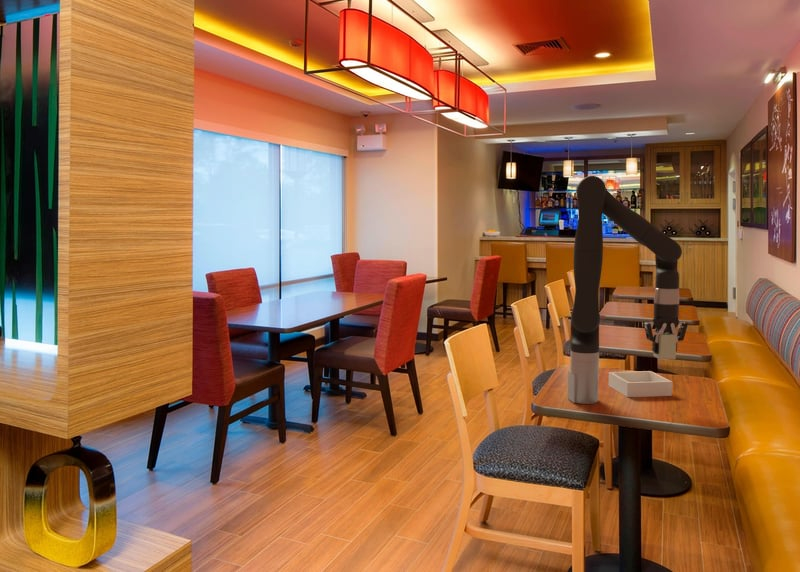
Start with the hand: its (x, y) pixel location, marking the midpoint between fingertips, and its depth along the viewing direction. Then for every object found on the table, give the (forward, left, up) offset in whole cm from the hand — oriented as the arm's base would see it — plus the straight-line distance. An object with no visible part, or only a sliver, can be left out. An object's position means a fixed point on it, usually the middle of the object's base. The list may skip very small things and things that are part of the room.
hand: (664, 353), depth 201 cm
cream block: (0, 0, -1) cm, 1 cm away
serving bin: (0, +18, -17) cm, 25 cm away
